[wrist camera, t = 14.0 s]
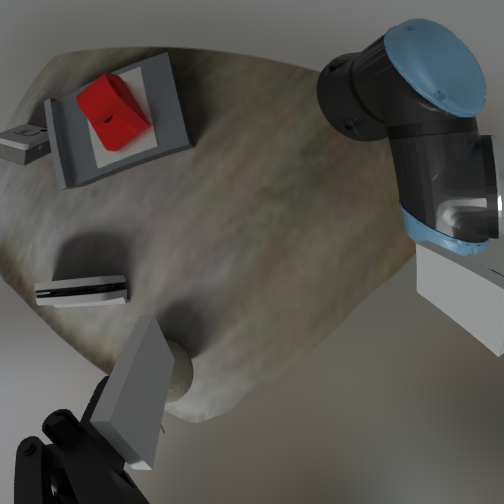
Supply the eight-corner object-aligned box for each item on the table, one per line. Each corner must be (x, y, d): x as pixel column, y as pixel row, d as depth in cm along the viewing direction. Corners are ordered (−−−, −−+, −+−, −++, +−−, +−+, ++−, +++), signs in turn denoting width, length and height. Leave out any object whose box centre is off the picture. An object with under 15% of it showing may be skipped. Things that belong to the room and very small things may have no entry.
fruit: (153, 314, 47) (130, 368, 33) (206, 349, 50) (202, 409, 35) (127, 349, 49) (103, 403, 34) (176, 381, 51) (166, 438, 37)
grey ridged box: (174, 65, 36) (164, 46, 28) (194, 147, 40) (187, 142, 32) (69, 109, 35) (44, 101, 28) (85, 185, 40) (60, 190, 32)
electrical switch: (62, 131, 36) (29, 133, 28) (55, 160, 38) (22, 167, 30) (27, 123, 35) (-6, 125, 26) (21, 150, 37) (-12, 156, 28)
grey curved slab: (58, 306, 45) (27, 312, 35) (55, 282, 45) (23, 284, 35) (132, 301, 46) (107, 309, 36) (128, 274, 46) (103, 275, 36)
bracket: (87, 107, 31) (49, 93, 21) (122, 79, 30) (92, 55, 21) (114, 154, 33) (79, 152, 24) (152, 126, 33) (126, 113, 23)
